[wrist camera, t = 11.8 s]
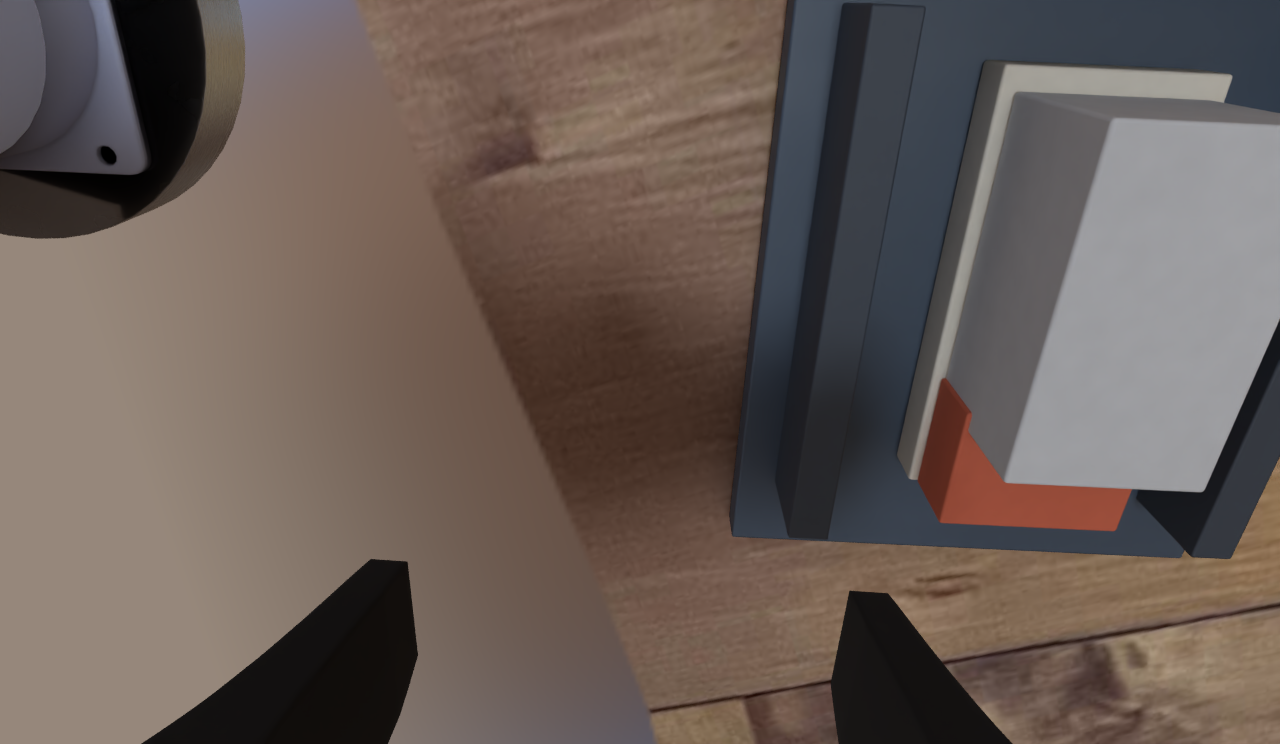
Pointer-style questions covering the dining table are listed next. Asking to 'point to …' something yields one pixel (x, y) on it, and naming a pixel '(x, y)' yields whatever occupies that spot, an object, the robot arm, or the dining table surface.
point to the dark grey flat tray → (910, 255)
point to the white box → (1094, 294)
